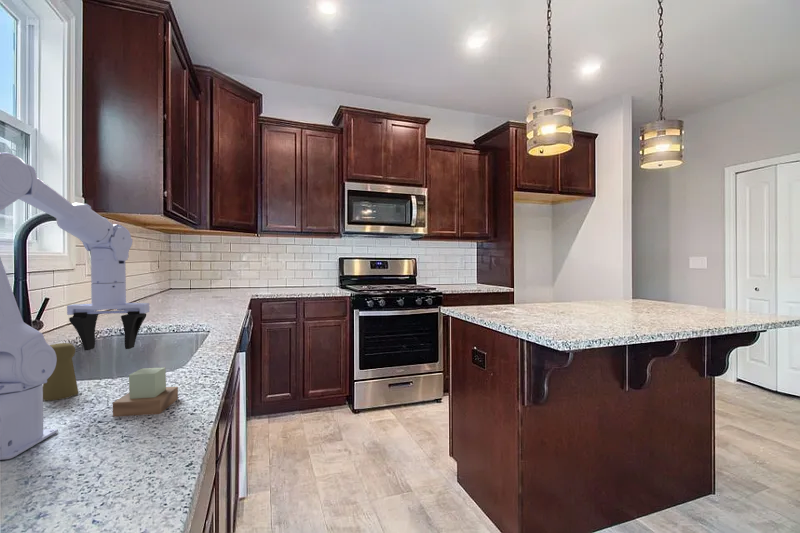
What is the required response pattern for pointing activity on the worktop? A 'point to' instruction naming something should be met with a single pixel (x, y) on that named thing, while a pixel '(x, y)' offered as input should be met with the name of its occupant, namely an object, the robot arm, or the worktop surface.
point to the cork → (61, 374)
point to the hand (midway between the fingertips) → (109, 348)
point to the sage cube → (147, 383)
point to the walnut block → (145, 404)
